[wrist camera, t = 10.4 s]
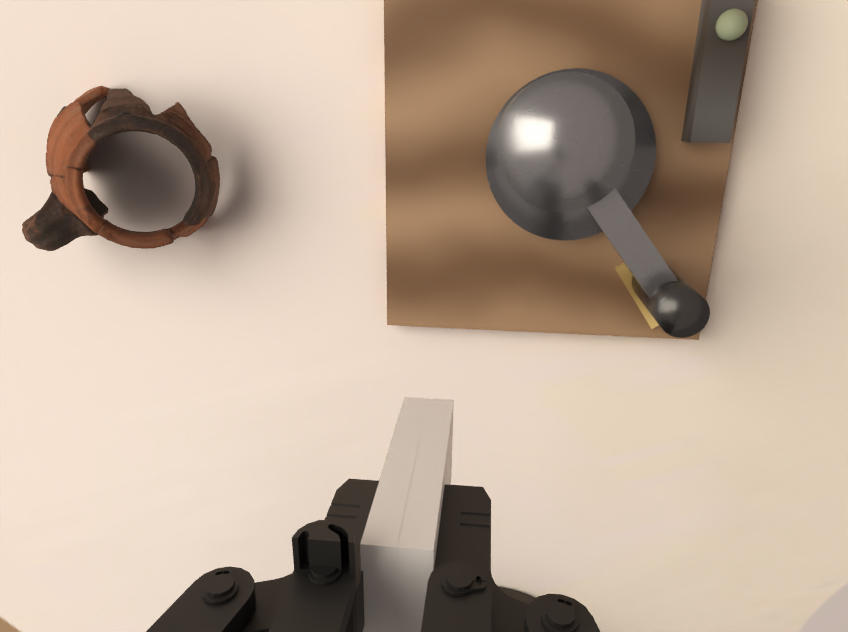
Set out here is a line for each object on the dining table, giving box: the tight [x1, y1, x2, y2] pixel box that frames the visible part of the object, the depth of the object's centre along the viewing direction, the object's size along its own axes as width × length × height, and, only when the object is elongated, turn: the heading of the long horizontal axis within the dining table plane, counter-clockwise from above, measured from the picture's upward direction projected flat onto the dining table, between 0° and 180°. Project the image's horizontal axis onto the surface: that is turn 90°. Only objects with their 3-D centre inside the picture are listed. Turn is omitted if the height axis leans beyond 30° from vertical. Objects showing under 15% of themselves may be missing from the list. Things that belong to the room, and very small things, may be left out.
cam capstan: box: [485, 68, 710, 338], centre depth 31 cm, size 14×9×6 cm, turn 38°
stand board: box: [384, 0, 757, 340], centre depth 33 cm, size 20×19×4 cm
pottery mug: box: [22, 86, 220, 251], centre depth 36 cm, size 12×10×8 cm
